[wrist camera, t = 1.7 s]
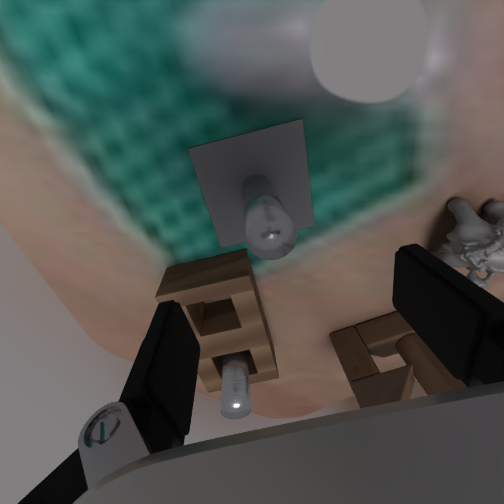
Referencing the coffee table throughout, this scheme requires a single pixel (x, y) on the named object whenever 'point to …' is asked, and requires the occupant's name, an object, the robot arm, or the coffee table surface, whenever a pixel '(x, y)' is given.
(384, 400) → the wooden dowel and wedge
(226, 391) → the seated peg
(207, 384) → the hole block
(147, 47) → the coffee table surface
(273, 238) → the peg
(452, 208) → the gray elephant figurine
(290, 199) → the mat
